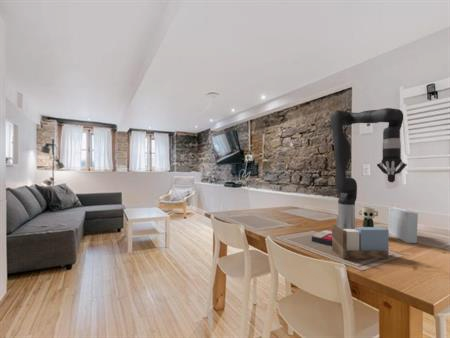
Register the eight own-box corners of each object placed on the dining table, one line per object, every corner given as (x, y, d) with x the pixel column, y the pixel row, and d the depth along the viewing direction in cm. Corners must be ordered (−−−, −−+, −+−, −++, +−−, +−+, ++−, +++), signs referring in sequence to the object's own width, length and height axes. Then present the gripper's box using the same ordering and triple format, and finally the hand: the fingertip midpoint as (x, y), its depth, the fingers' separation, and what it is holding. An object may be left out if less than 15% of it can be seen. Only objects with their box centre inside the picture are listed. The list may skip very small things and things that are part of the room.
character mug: (358, 227, 156) (358, 208, 156) (358, 225, 162) (358, 206, 162) (378, 229, 151) (378, 209, 151) (377, 227, 157) (377, 207, 157)
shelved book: (354, 252, 110) (354, 229, 110) (359, 256, 105) (359, 231, 105) (339, 252, 110) (339, 228, 110) (343, 256, 105) (343, 231, 105)
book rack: (374, 250, 113) (374, 225, 113) (389, 259, 102) (389, 231, 102) (332, 250, 113) (332, 225, 113) (343, 259, 102) (343, 231, 102)
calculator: (311, 235, 127) (324, 229, 137) (311, 243, 127) (324, 236, 137) (331, 239, 119) (344, 232, 129) (331, 248, 119) (344, 240, 129)
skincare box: (418, 243, 123) (418, 213, 123) (406, 243, 124) (406, 212, 124) (397, 233, 144) (397, 206, 144) (387, 232, 145) (387, 206, 145)
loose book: (382, 253, 109) (382, 227, 109) (388, 257, 105) (388, 229, 105) (355, 253, 110) (355, 227, 109) (360, 256, 105) (360, 229, 105)
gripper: (374, 148, 123) (374, 181, 124) (404, 146, 113) (404, 183, 113) (379, 149, 128) (379, 181, 128) (409, 147, 118) (409, 182, 118)
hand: (391, 182), depth 121 cm, fingers closed
